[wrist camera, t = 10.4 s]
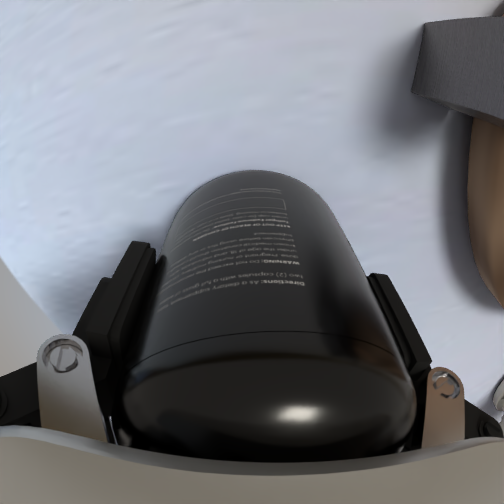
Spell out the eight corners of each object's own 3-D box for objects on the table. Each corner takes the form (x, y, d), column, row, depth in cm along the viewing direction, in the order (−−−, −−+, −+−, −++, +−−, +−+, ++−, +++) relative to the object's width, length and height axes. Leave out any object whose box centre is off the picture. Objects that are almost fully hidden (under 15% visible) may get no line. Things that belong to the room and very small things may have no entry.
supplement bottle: (159, 288, 14) (93, 567, 4) (194, 142, 11) (6, 580, 1) (299, 322, 15) (335, 579, 5) (366, 199, 12) (538, 515, 2)
